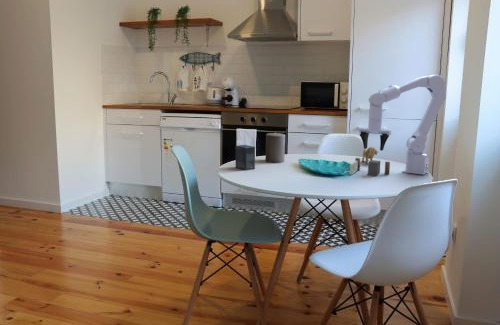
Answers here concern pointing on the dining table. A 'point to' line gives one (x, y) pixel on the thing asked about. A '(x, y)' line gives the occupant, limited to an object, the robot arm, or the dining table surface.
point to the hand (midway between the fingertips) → (373, 149)
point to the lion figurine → (369, 154)
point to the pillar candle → (275, 147)
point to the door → (353, 167)
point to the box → (245, 157)
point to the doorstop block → (374, 168)
